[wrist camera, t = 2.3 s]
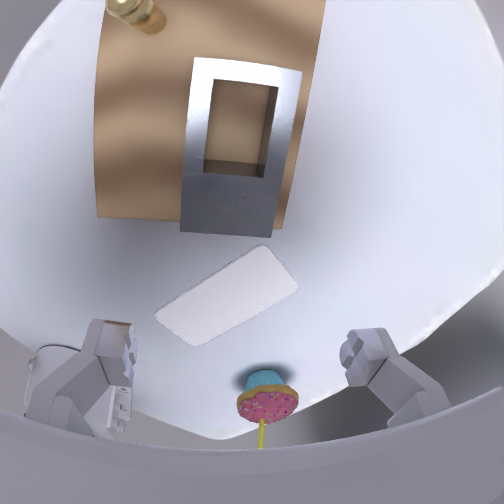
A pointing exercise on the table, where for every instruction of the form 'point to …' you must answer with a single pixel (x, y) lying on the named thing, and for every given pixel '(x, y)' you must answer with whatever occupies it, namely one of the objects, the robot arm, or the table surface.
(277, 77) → the steel link
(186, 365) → the table surface
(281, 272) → the smartphone
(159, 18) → the post
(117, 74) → the oak board
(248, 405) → the cupcake
